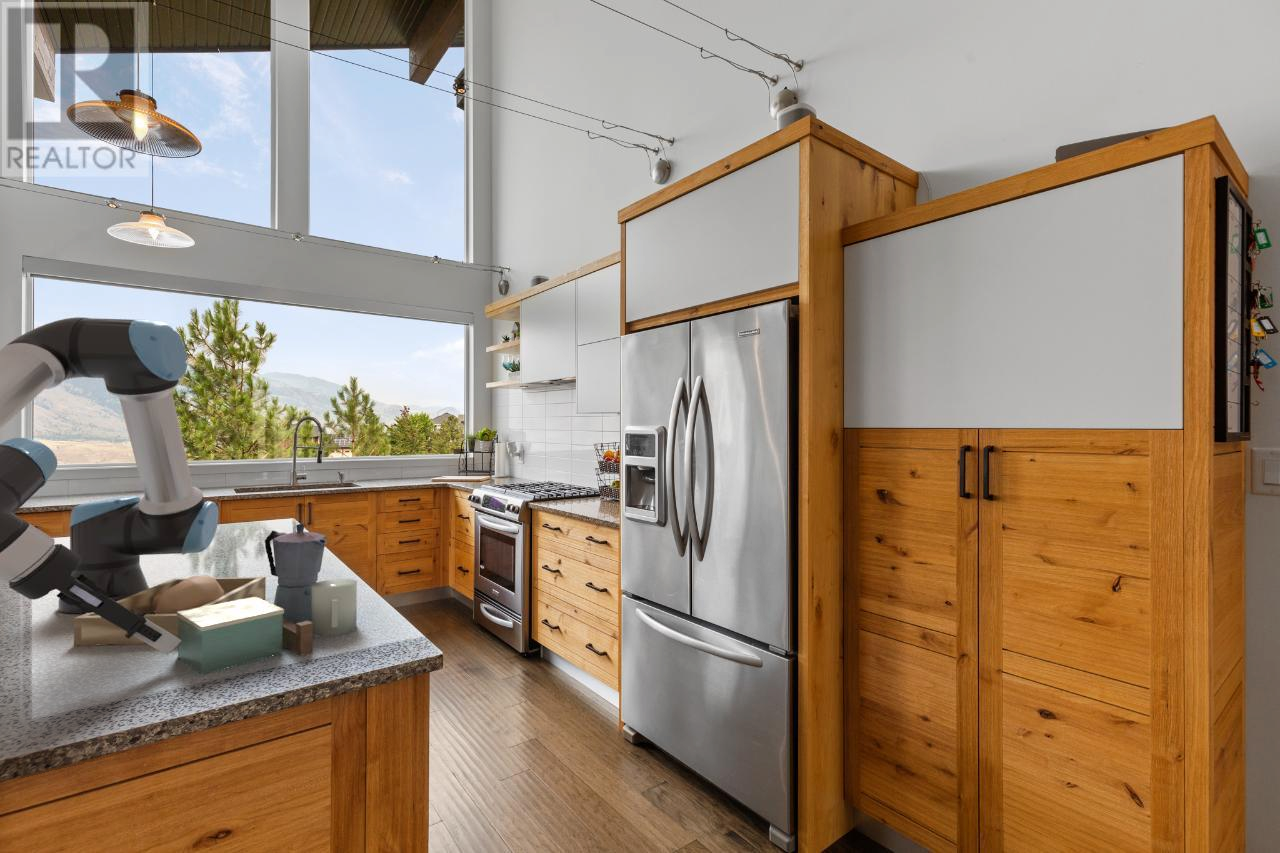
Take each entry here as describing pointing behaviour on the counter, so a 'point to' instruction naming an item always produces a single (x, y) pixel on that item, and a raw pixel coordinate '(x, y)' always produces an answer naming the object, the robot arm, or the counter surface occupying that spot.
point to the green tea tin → (229, 634)
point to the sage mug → (334, 607)
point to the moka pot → (295, 570)
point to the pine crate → (104, 632)
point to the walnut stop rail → (298, 636)
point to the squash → (187, 595)
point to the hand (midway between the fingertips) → (173, 646)
